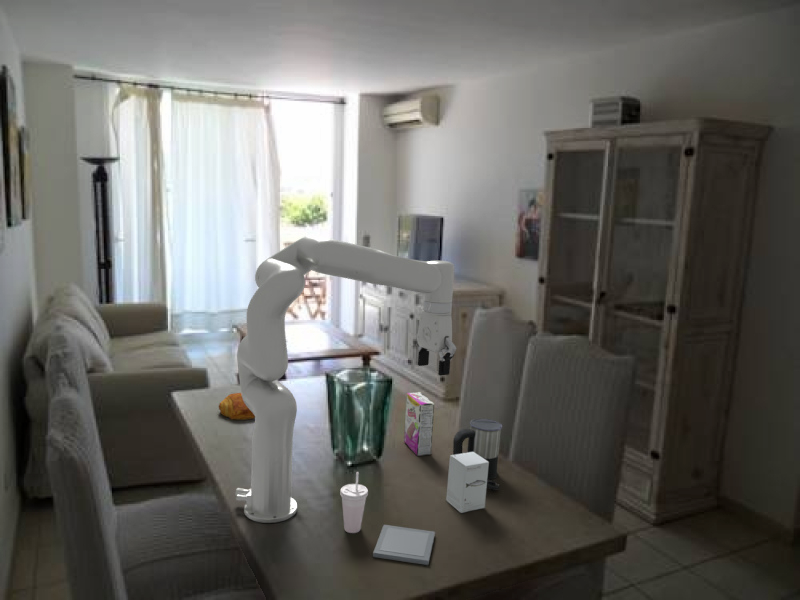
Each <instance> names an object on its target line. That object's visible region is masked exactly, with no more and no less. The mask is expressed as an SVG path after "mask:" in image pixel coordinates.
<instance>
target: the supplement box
mask: <svg viewBox="0 0 800 600" xmlns="http://www.w3.org/2000/svg"><path fill="white" fill-rule="evenodd" d="M488 466H489V462H488V461H487V460H485V459H484V458H482V457H481V456H479V455H477V454H476V453H474V452H468V453H467V452H462V454H456V455H453V454H452V455H451V454H450V455H449V463H448V475H447V489H446V499H445V500H446V502H447V503H448V504H449V505H451V506H452V507H453V508H454V509H456V510H457V511H458V512H459V513H460V514H463V513H467V512H471V511H476V510H481V509H485V508H486V498H487V489H488V488H487V477H488Z"/></svg>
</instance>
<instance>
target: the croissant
mask: <svg viewBox="0 0 800 600" xmlns="http://www.w3.org/2000/svg"><path fill="white" fill-rule="evenodd" d="M218 410H219V412H220V414H221V415H222V416H224V417H226V418H229V419H230V420H232V421H233V420H236V421H242V420H252V419H255V415H254V414H253V413H252V411H251V410H250V409H249V408H248V407H247V406H246V404H245V403H244V401H243V398H242V394H241V392H236V393H231V394H228V395H227V396H226V397H225V398H224V399H223V400H221V401H220V403H219V404H218Z"/></svg>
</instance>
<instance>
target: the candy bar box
mask: <svg viewBox="0 0 800 600" xmlns="http://www.w3.org/2000/svg"><path fill="white" fill-rule="evenodd" d="M405 401H406V402H405V417H404V418H405V420H404V421H405V422H404V436H403V437H404V438H403V442H404V444H406V446H407V447H408V448H409V449H410V450H411V451H412V452H413V453H414V454H415V455H416V456H417V457H421V456H428V455H431V454H432V446H433V431H434V430H433V428H434V413H435V403H434V402H433V401H432V400H430V399H429V398H428V397H427V396H425V395H424V394H423V393H422V392H421V391H418V392H416V391H413V392H407V393H406V399H405Z"/></svg>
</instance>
